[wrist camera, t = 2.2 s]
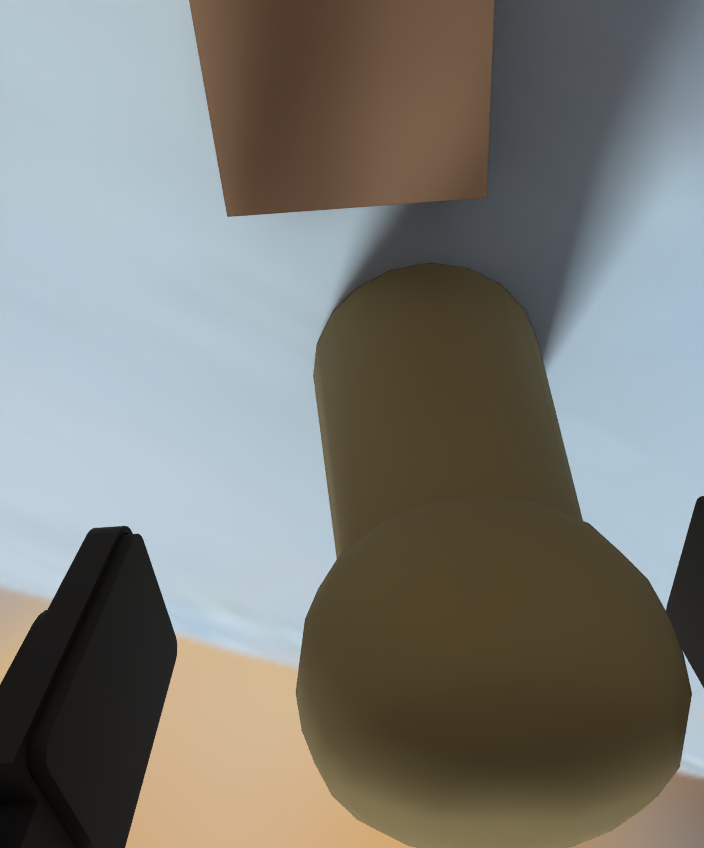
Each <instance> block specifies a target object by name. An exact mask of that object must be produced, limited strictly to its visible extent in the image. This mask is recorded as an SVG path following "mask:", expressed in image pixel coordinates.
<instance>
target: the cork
mask: <svg viewBox="0 0 704 848" xmlns="http://www.w3.org/2000/svg"><path fill="white" fill-rule="evenodd" d="M313 377H314V385H315V393H316V400H317V408H318V416H319V424H320V431H321V439H322V447H323V455H324V463H325V470H326V478H327V486H328V494H329V502H330V509H331V517H332V525H333V533H334V540H335V548H336V556H337V560H336V562H335V563H334V565H333V567H332V568H331V570H330V571H329V573H328V574H327V576H326V578H325V579H324V581H323V582H322V584H321V585H320V587H319V589H318V591H317V593H316V595H315V598H314V600H313V602H312V605H311V607H310V609H309V611H308V614H307V616H306V618H305V624H304V631H303V639H302V647H301V654H300V662H299V670H298V679H297V687H296V697H297V704H298V710H299V715H300V722H301V728H302V732H303V734H304V737H305V740H306V742H307V745H308V747H309V750H310V753H311V755H312V757H313V760H314V763H315V765H316V767H317V768H318V770H319V772H320V774H321V776H322V778H323V780H324V781H325V783H326V785H327V787H328V789H329V791H330V792H331V794H332V796H333V797H334V798H335V799H336V800H337V801H338V802H339V803H340V804H342V805H343V806H344V807H345V808H346V809H347V810H348V811H349V812H350V813H351V814H352V815H353V816H354V817H355V818H356V819H357V820H359V821H361V822H363V823H365V824H367V825H369V826H370V827H372V828H374V829H376V830H378V831H380V832H382V833H384V834H386V835H388V836H390V837H392V838H394V839H396V840H398V841H400V842H402V843H404V844H406V845H408V846H412V847H416V848H568V847H572V846H576V845H578V844H580V843H583V842H585V841H588V840H590V839H593V838H595V837H598V836H600V835H602V834H605V833H607V832H610V831H612V830H613V829H615V828H616V827H618V826H619V825H621V824H622V823H623V822H625V821H626V820H628V819H629V818H631V817H632V816H634V815H635V814H636V813H638V812H639V811H640V810H642V809H643V808H644V807H646V806H647V805H648V804H649V803H650V802H651V801H653V800H654V799H655V798H656V797H657V796H658V795H659V794H660V792H661V791H662V790H663V788H664V787H665V786H666V784H667V783H668V782H669V781H670V779H671V778H672V777H673V775H674V774H675V773H676V771H677V770H678V769H679V767H680V762H681V756H682V750H683V745H684V739H685V733H686V727H687V720H688V714H689V708H690V702H691V696H692V692H691V687H690V683H689V678H688V673H687V669H686V664H685V659H684V655H683V651H682V649H681V646H680V644H679V641H678V639H677V636H676V634H675V631H674V629H673V626H672V624H671V621H670V619H669V616H668V614H667V612H666V611H665V609H664V607H663V605H662V603H661V602H660V600H659V598H658V596H657V594H656V593H655V591H654V589H653V587H652V585H651V584H650V582H649V580H648V579H647V578H646V577H645V576H644V575H643V574H642V573H641V572H640V571H639V570H638V569H637V568H636V567H635V566H634V565H633V564H632V563H631V562H630V561H629V560H628V559H627V558H626V557H625V556H624V555H623V554H622V553H621V552H620V551H619V550H618V549H617V548H616V547H615V546H613V545H612V544H611V543H610V542H609V541H608V540H607V539H606V538H605V537H604V536H602V535H601V534H600V533H599V532H598V531H597V530H596V529H595V528H594V527H592V526H591V525H590V524H589V523H587V522H584V521H583V519H582V515H581V511H580V507H579V503H578V499H577V495H576V491H575V487H574V483H573V479H572V475H571V471H570V467H569V463H568V459H567V455H566V451H565V447H564V443H563V439H562V435H561V431H560V427H559V423H558V419H557V415H556V411H555V407H554V403H553V399H552V395H551V391H550V387H549V383H548V379H547V375H546V371H545V367H544V363H543V359H542V355H541V351H540V348H539V344H538V340H537V337H536V335H535V333H534V330H533V328H532V325H531V323H530V321H529V318H528V316H527V313H526V311H525V309H524V308H523V307H522V306H521V305H520V304H519V303H518V302H517V301H516V300H515V299H514V298H513V297H512V296H511V295H510V293H509V292H508V291H507V290H506V289H505V288H504V287H503V286H502V285H501V284H499V283H497V282H495V281H493V280H491V279H489V278H487V277H485V276H483V275H481V274H479V273H477V272H475V271H473V270H471V269H469V268H463V267H455V266H448V265H440V264H433V263H427V264H422V265H416V266H411V267H405V268H399V269H394V270H390V271H388V272H386V273H384V274H382V275H381V276H379V277H377V278H375V279H373V280H371V281H369V282H367V283H365V284H363V285H361V286H359V287H357V288H356V289H355V290H354V291H353V292H352V293H351V294H350V295H349V296H348V298H347V299H346V300H345V301H344V302H343V303H342V304H341V305H340V306H339V307H338V308H337V309H336V310H335V311H334V312H333V313H332V314H331V316H330V318H329V320H328V322H327V324H326V326H325V328H324V330H323V332H322V334H321V337H320V339H319V341H318V343H317V347H316V356H315V365H314V375H313Z"/></svg>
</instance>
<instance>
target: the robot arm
mask: <svg viewBox="0 0 704 848" xmlns="http://www.w3.org/2000/svg"><path fill="white" fill-rule="evenodd" d="M666 612H667V614H668V616H669V619H670V621H671V624H672V626H673V629H674V631H675V634H676V636H677V639H678V641H679V644H680V646H681V649H682V650H683V652H684V654H685V656H686V657H687V659H688V661H689V663H690V665H691V666H692V668H693V670H694V672H695V673H696V675H697V677H698V679H699V680H700V682H701V684H702V686H703V687H704V496H701V497H699V498H698V499H697V501H696V504H695V508H694V511H693V515H692V518H691V522H690V525H689V529H688V533H687V536H686V540H685V543H684V547H683V550H682V554H681V557H680V561H679V565H678V568H677V572H676V575H675V579H674V582H673V586H672V589H671V593H670V597H669V600H668V604H667V609H666ZM176 656H177V640H176V636H175V633H174V630H173V627H172V624H171V621H170V618H169V615H168V612H167V609H166V606H165V603H164V600H163V597H162V594H161V591H160V588H159V585H158V582H157V579H156V576H155V573H154V570H153V567H152V564H151V561H150V558H149V556H148V553H147V550H146V547H145V544H144V541H143V538H142V536H141V535H140V534H133V533H132V531H131V529H130V528H129V527H127V526H118V527H103V528H93V529H91V530H90V531H89V533H88V534H87V536H86V537H85V539H84V541H83V543H82V545H81V547H80V549H79V551H78V553H77V555H76V557H75V558H74V560H73V562H72V564H71V566H70V568H69V570H68V572H67V574H66V576H65V578H64V579H63V581H62V583H61V585H60V587H59V589H58V591H57V593H56V595H55V597H54V599H53V600H52V602H51V604H50V606H49V608H48V610H45V611H44V612H43V613H41V614H40V615H39V616H38V617H37V619H36V620H35V622H34V623H33V625H32V626H31V628H30V630H29V632H28V634H27V636H26V638H25V640H24V641H23V644H22V645H21V647H20V649H19V651H18V653H17V654H16V656H15V658H14V660H13V662H12V664H11V666H10V667H9V669H8V671H7V673H6V675H5V677H4V679H3V681H2V682H1V685H0V848H125V846H126V842H127V838H128V834H129V831H130V827H131V823H132V820H133V816H134V812H135V809H136V805H137V801H138V798H139V793H140V790H141V786H142V783H143V779H144V775H145V772H146V768H147V764H148V761H149V757H150V753H151V750H152V746H153V742H154V739H155V734H156V731H157V728H158V724H159V720H160V716H161V713H162V709H163V705H164V702H165V698H166V694H167V691H168V687H169V683H170V679H171V676H172V672H173V668H174V665H175V661H176Z"/></svg>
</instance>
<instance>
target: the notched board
mask: <svg viewBox="0 0 704 848" xmlns="http://www.w3.org/2000/svg"><path fill="white" fill-rule="evenodd" d="M189 2H190V8H191V14H192V19H193V25H194V31H195V36H196V42H197V48H198V53H199V59H200V65H201V70H202V76H203V81H204V87H205V93H206V98H207V104H208V110H209V115H210V121H211V127H212V132H213V138H214V144H215V149H216V155H217V161H218V166H219V172H220V178H221V183H222V189H223V195H224V200H225V206H226V212H227V217H232V216H245V215H259V214H273V213H286V212H300V211H314V210H327V209H341V208H354V207H368V206H382V205H395V204H409V203H423V202H436V201H450V200H464V199H477V198H487V177H488V152H489V127H490V102H491V77H492V52H493V28H494V3H495V0H189Z"/></svg>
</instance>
